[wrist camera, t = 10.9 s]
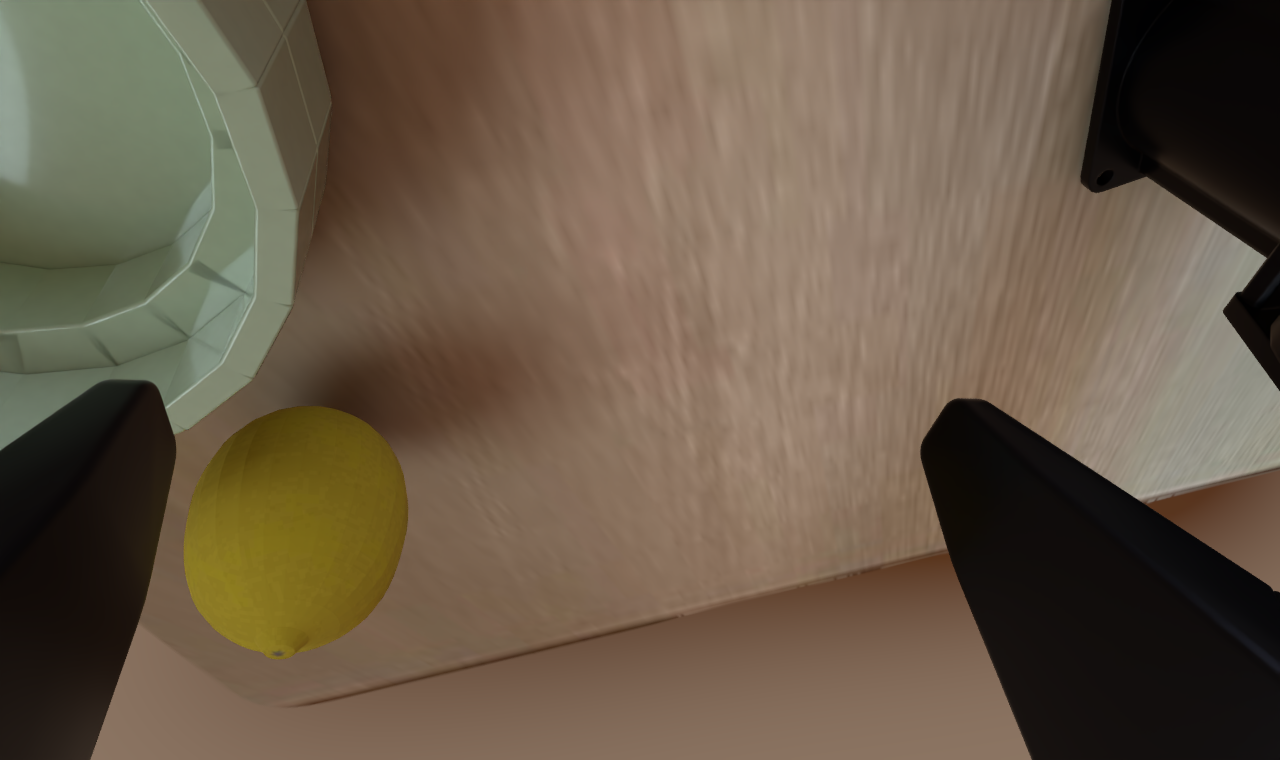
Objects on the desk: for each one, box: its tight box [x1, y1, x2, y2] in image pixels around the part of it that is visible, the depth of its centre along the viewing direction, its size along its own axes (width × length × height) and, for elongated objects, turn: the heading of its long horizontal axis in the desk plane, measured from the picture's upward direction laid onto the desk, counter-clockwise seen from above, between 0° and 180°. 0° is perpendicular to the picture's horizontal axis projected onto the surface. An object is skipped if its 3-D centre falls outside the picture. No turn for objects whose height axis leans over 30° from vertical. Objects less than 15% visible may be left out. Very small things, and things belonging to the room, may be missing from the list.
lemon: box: [184, 406, 408, 659], centre depth 20 cm, size 6×6×8 cm
